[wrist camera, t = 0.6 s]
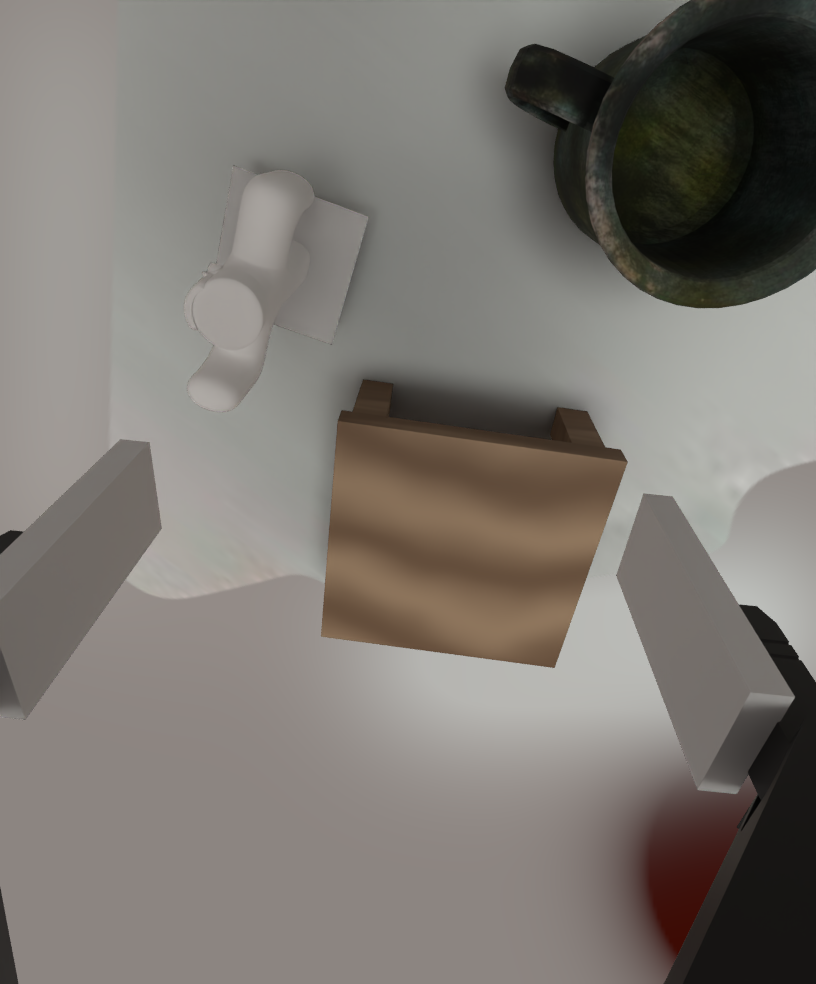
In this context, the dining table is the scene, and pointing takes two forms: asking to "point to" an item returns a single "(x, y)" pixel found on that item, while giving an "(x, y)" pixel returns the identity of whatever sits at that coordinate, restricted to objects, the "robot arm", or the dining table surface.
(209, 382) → the figurine
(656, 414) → the dining table surface
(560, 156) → the mug
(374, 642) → the walnut stool
